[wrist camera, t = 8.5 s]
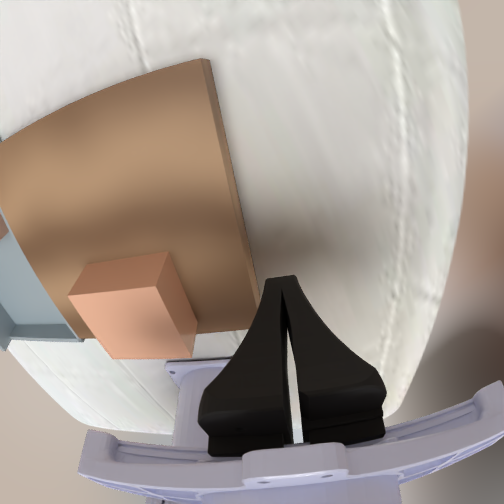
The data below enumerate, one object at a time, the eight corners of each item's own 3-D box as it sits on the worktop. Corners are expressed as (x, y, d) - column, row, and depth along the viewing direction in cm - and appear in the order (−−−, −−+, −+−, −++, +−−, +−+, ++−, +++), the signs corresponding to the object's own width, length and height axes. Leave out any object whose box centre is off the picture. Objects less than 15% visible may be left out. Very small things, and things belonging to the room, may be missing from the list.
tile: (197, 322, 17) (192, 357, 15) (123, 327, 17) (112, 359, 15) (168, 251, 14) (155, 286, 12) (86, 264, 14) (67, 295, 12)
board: (260, 297, 19) (261, 327, 17) (90, 313, 20) (79, 338, 18) (209, 60, 11) (200, 58, 9) (6, 141, 12) (-20, 156, 10)
